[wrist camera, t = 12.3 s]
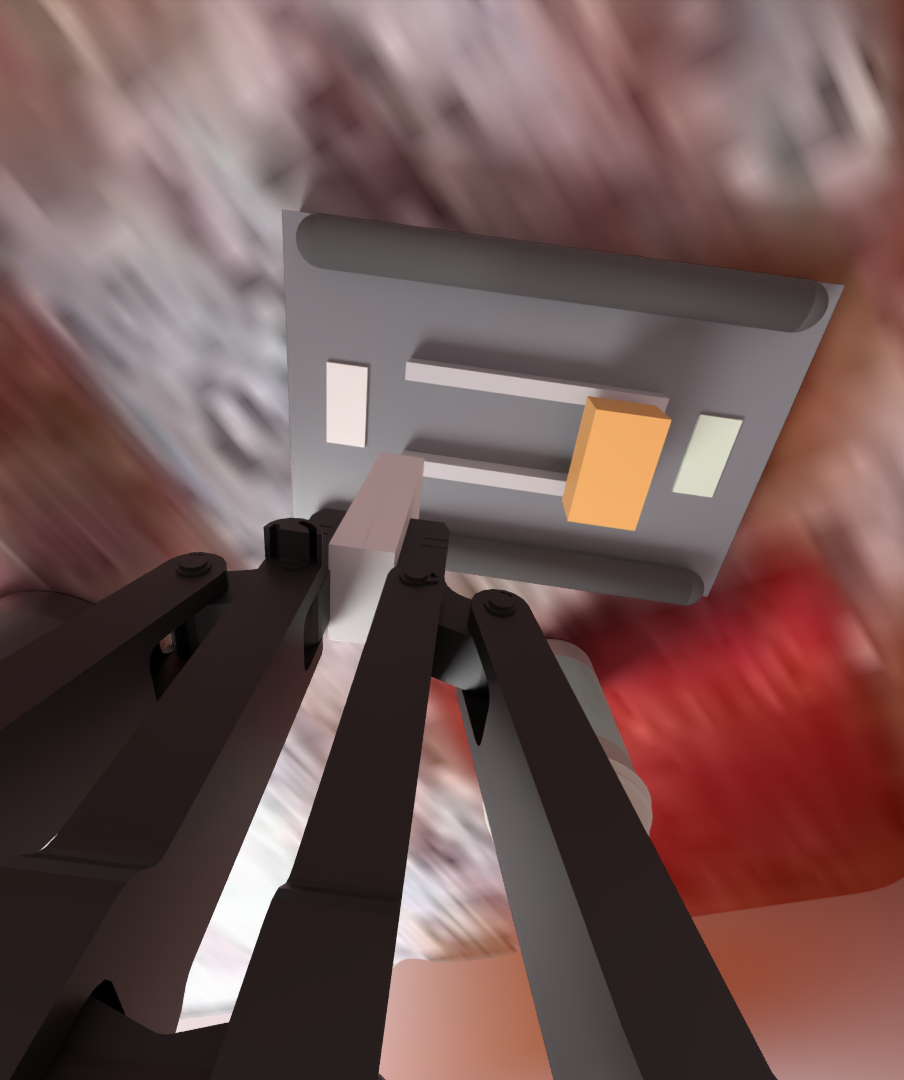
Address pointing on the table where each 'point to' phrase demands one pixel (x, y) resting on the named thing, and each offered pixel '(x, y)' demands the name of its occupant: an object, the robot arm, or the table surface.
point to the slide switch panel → (528, 406)
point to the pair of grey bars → (576, 282)
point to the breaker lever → (614, 462)
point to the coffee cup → (600, 724)
